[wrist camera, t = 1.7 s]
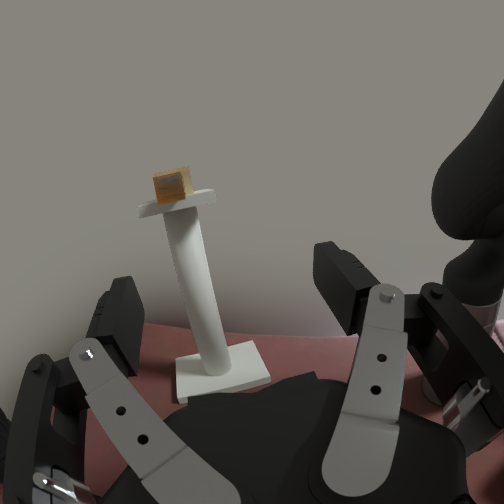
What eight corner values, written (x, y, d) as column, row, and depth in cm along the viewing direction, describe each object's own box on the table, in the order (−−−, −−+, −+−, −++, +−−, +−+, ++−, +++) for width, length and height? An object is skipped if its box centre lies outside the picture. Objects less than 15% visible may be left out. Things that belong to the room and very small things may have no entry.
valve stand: (253, 346, 54) (220, 164, 44) (271, 382, 43) (234, 157, 33) (177, 363, 51) (127, 184, 41) (179, 404, 40) (109, 184, 30)
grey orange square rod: (184, 192, 45) (181, 179, 44) (185, 199, 21) (180, 171, 21) (170, 195, 45) (168, 181, 44) (158, 205, 21) (152, 177, 20)
